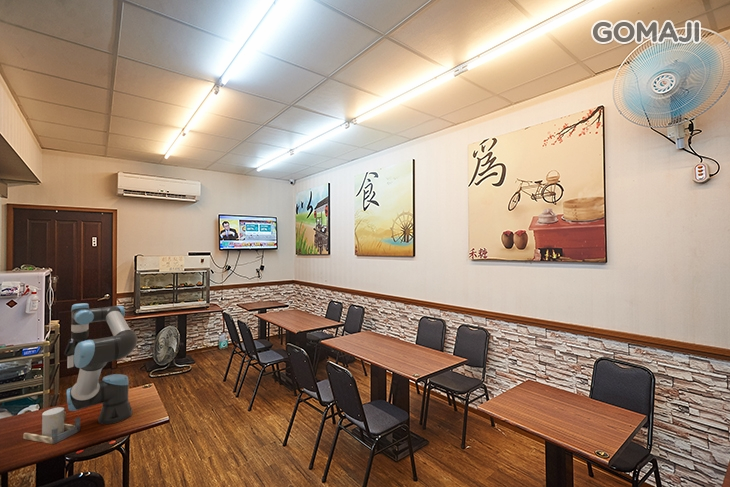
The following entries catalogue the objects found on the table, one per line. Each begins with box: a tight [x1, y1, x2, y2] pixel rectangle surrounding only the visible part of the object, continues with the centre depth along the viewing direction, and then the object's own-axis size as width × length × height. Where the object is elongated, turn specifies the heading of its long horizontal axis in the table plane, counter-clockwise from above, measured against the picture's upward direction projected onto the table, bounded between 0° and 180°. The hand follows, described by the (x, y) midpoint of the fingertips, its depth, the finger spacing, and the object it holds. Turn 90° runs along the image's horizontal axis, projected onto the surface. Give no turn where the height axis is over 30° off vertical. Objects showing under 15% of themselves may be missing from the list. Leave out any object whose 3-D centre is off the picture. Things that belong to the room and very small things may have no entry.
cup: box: [41, 406, 65, 437], centre depth 169 cm, size 8×8×12 cm
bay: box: [22, 416, 81, 445], centre depth 169 cm, size 20×12×7 cm, turn 77°
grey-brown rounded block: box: [50, 406, 67, 421], centre depth 183 cm, size 7×4×7 cm, turn 77°
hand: (79, 368), depth 188 cm, fingers open, 13 cm apart
